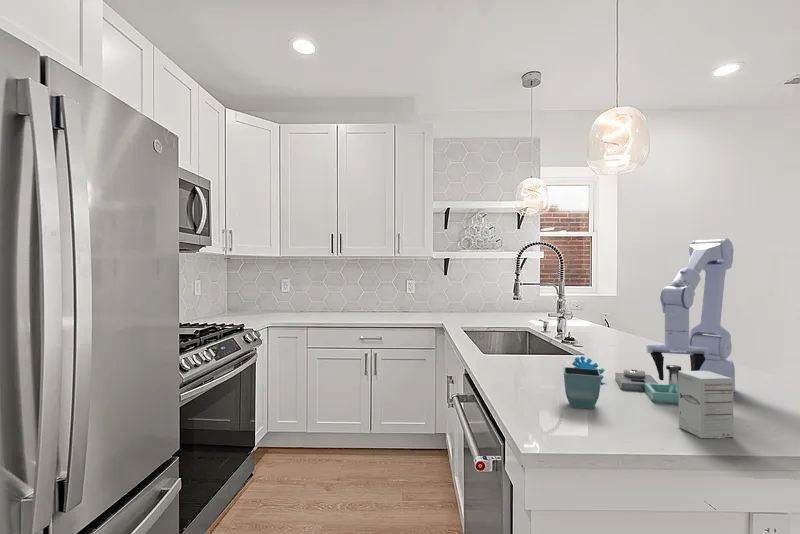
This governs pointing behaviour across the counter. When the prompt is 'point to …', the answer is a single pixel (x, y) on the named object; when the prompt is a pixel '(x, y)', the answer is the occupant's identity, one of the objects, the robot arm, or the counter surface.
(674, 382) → the pin
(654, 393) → the tray
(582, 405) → the flower pot
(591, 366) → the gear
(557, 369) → the counter surface
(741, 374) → the counter surface
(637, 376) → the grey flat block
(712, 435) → the supplement box
